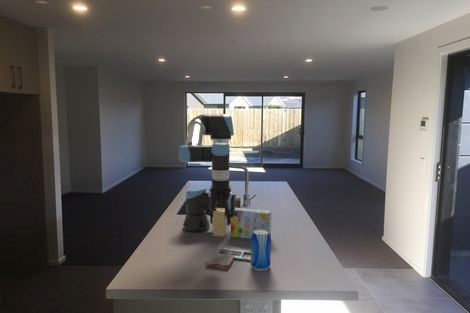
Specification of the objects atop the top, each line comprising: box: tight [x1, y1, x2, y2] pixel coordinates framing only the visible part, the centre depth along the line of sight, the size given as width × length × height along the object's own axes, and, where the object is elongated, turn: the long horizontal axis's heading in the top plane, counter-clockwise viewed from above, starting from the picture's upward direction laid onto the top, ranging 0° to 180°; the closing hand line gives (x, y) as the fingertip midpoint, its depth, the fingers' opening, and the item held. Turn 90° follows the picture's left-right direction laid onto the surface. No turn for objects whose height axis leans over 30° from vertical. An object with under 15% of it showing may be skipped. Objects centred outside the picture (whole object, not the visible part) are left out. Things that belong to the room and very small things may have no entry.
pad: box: [205, 252, 235, 271], centre depth 156 cm, size 10×10×2 cm
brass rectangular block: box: [212, 208, 229, 238], centre depth 153 cm, size 5×5×11 cm
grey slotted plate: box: [217, 247, 251, 262], centre depth 163 cm, size 20×9×1 cm, turn 75°
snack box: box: [230, 207, 272, 240], centre depth 186 cm, size 21×6×15 cm, turn 71°
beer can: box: [250, 229, 272, 272], centre depth 151 cm, size 8×8×16 cm
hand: (220, 231), depth 154 cm, fingers closed on brass rectangular block, 5 cm apart
